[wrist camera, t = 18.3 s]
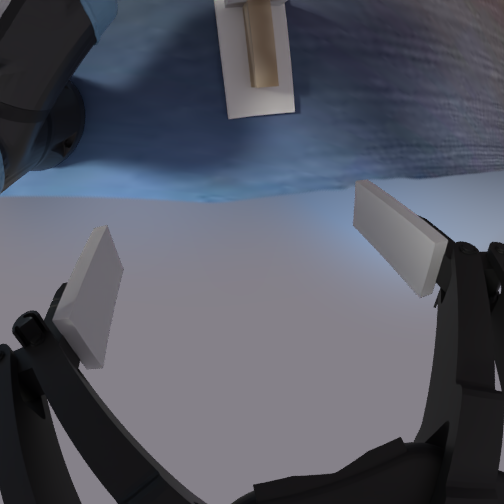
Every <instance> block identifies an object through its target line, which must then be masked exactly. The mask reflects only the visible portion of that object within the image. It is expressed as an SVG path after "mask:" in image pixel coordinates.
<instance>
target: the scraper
mask: <svg viewBox="0 0 504 504" xmlns="http://www.w3.org/2000/svg"><path fill="white" fill-rule="evenodd" d="M286 1H288V0H224V7H225V8H232V7H242V9H243V18H244V26H245V35H246V45H247V54H248V63H249V73H250V83H251V87H253V88H261V87H274V86H279V81H278V70H277V59H276V49H275V39H274V29H273V20H272V11H271V6H281V5H282V4H284V3H285V2H286Z"/></svg>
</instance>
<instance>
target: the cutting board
mask: <svg viewBox="0 0 504 504" xmlns="http://www.w3.org/2000/svg"><path fill="white" fill-rule="evenodd" d="M214 6H215V14H216V23H217V31H218V40H219V48H220V56H221V64H222V73H223V81H224V89H225V97H226V105H227V113H228V119H234V118H242V117H250V116H258V115H268V114H278V113H290V112H295V105H294V92H293V80H292V68H291V57H290V47H289V37H288V28H287V19H286V11H285V3H284V4H282V5H281V6H271V11H272V20H273V29H274V39H275V49H276V59H277V70H278V81H279V86H274V87H261V88H253V87H251V83H250V73H249V63H248V54H247V45H246V35H245V26H244V18H243V9H242V7H232V8H225V7H224V0H214Z"/></svg>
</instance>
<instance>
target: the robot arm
mask: <svg viewBox="0 0 504 504" xmlns="http://www.w3.org/2000/svg"><path fill="white" fill-rule="evenodd" d="M117 10H118V4H117V0H0V194H1V193H2V192H3V191H4V190H6V189H7V188H8V187H9V186H11V185H12V184H13V183H14V182H16V181H17V180H18V179H19V178H21V177H22V176H23V175H25V174H26V173H27V172H29V171H41V170H46V169H49V168H52V167H54V166H56V165H57V164H59V163H60V162H62V161H63V160H64V159H66V158H67V157H68V156H69V155H70V154H71V153H72V152H73V150H74V149H75V148H76V146H77V144H78V143H79V141H80V138H81V136H82V133H83V129H84V124H85V109H84V103H83V100H82V97H81V95H80V93H79V91H78V90H77V88H76V87H75V86H74V85H73V84H72V83H71V82H70V81H69V80H70V78H71V77H72V75H73V74H74V72H75V71H76V69H77V68H78V66H79V65H80V63H81V62H82V60H83V59H84V58H85V56H86V55H87V54H88V52H89V51H90V49H91V48H92V47H93V46H94V45H96V44H98V42H99V41H100V37H101V35H102V34H103V33H104V31H105V30H106V29H107V27H108V26H109V25H110V24H111V22H112V21H113V20H114V18H115V17H116V15H117ZM354 205H355V206H354V219H353V226H354V227H355V228H356V229H357V230H358V231H359V232H360V233H361V234H362V235H363V236H364V237H365V238H366V239H367V240H368V241H369V243H370V244H371V245H372V246H373V247H374V248H375V249H376V250H377V251H378V252H379V253H380V254H381V255H382V256H383V257H384V259H386V261H387V262H388V263H389V264H390V265H391V266H392V267H393V268H394V270H395V271H396V272H397V273H398V274H399V275H400V276H401V277H402V279H403V280H404V281H405V282H406V283H407V284H408V285H409V287H411V289H412V290H413V291H414V292H415V293H416V295H417V296H418V297H419V298H422V297H424V296H427V295H430V294H432V292H433V289H434V286H435V283H437V284H438V285H439V286H440V287H441V288H440V291H439V293H438V296H437V299H436V302H435V305H434V307H435V308H436V306H437V304H438V313H437V328H436V339H435V349H434V358H433V366H432V373H431V380H430V386H429V392H428V397H427V403H426V408H425V412H424V417H423V422H422V425H421V428H420V430H419V432H418V434H417V436H416V438H415V440H414V442H411V443H403V440H402V438H401V437H399V438H397V439H395V440H393V441H391V442H388V443H386V444H384V445H382V446H379V447H377V448H375V449H372V450H370V451H368V452H367V453H365V454H364V455H362V456H361V457H359V458H358V459H356V460H355V461H353V462H352V463H351V464H349V465H347V466H346V467H344V468H343V469H341V470H340V471H338V472H336V473H332V474H322V475H309V476H291V477H287V478H283V479H279V480H274V481H270V482H265V483H260V484H255V485H253V487H254V491H252V492H250V493H248V494H246V495H244V496H242V497H240V498H239V499H237V500H236V501H234V502H233V503H232V504H504V472H502V471H499V470H498V469H499V462H500V455H501V447H502V438H503V425H504V244H502V243H500V242H499V243H498V242H492V243H490V245H489V249H488V251H487V252H479V250H478V249H477V248H476V247H475V246H473V245H471V244H470V243H467V242H461V241H460V242H456V243H455V242H454V241H453V240H452V239H450V238H449V237H448V236H447V235H446V234H444V233H443V232H442V231H441V230H439V229H438V228H437V227H436V226H433V224H432V223H431V222H429V221H428V220H427V219H425V218H422V217H421V216H418V215H416V214H415V213H413V212H412V211H411V210H410V209H408V208H407V207H406V206H404V205H403V204H401V203H400V202H399V201H397V200H396V199H394V198H393V197H392V196H390V195H389V194H388V193H386V192H385V191H383V190H382V189H380V188H379V187H378V186H376V185H375V184H373V183H372V182H370V181H369V180H360V181H356V184H355V204H354ZM123 270H124V269H123V266H122V264H121V261H120V258H119V256H118V253H117V250H116V248H115V245H114V243H113V240H112V237H111V234H110V231H109V229H108V226H107V225H105V226H101V227H97V228H94V230H93V232H92V234H91V235H90V237H89V239H88V241H87V243H86V245H85V247H84V249H83V251H82V253H81V255H80V257H79V259H78V261H77V263H76V266H75V268H74V270H73V272H72V274H71V276H70V279H69V281H68V282H67V283H63V284H62V285H61V287H60V288H59V289H58V290H57V292H56V294H55V296H54V298H53V301H52V302H51V305H50V308H49V309H48V312H47V314H46V317H45V319H44V320H43V319H42V317H41V316H40V314H39V313H38V312H37V311H28V312H26V313H24V314H22V315H21V316H20V317H19V318H18V319H17V320H16V322H15V323H14V325H13V328H12V332H13V334H14V335H15V337H16V338H17V340H18V341H19V342H20V343H21V345H22V346H23V347H22V348H20V349H18V350H15V351H12V350H11V348H10V347H9V346H8V345H7V344H1V345H0V491H1V495H2V499H3V502H4V504H81V502H80V499H79V497H78V494H77V492H76V490H75V487H74V485H73V483H72V480H71V477H70V475H69V472H68V469H67V467H66V464H65V461H64V458H63V455H62V452H61V449H60V446H59V443H58V439H57V436H56V432H55V429H54V425H53V421H52V418H51V414H50V410H49V406H48V401H49V403H50V405H51V407H52V409H53V410H54V412H55V414H56V416H57V418H58V419H59V421H60V423H61V424H62V426H63V428H64V430H65V431H66V432H67V434H68V436H69V438H70V439H71V441H72V442H73V444H74V445H75V447H76V448H77V450H78V451H79V453H80V454H81V456H82V457H83V459H84V460H85V462H86V463H87V464H88V466H89V467H90V469H91V470H92V471H93V473H94V474H95V475H96V477H97V478H98V479H99V481H100V482H101V483H102V484H103V485H104V487H105V488H106V489H107V491H108V492H109V493H110V494H111V495H112V497H113V498H114V499H115V500H116V502H117V503H118V504H207V503H205V502H204V501H202V500H201V499H200V498H198V497H197V496H196V495H194V494H193V493H192V492H190V491H189V490H188V489H187V488H186V487H184V486H183V485H182V484H181V483H180V482H179V481H178V480H176V479H175V478H174V477H173V476H172V475H171V474H170V473H169V472H168V471H167V470H165V469H164V468H163V467H162V466H161V465H160V464H159V463H158V462H157V461H156V460H155V459H154V458H153V457H152V456H151V455H150V454H149V453H148V452H147V451H146V450H145V449H144V448H143V447H142V446H141V445H140V444H139V443H138V442H137V440H135V438H133V436H132V435H131V434H130V433H129V432H128V431H127V430H126V428H125V427H124V426H123V425H122V424H121V423H120V421H119V420H118V419H117V418H116V417H115V416H114V414H113V413H112V412H111V411H110V410H109V408H108V407H107V406H106V405H105V403H104V402H103V401H102V399H101V398H100V397H99V396H98V394H97V393H96V392H95V390H94V389H93V388H92V386H91V385H90V384H89V382H88V381H87V380H86V378H85V377H84V375H83V374H82V373H81V372H80V370H79V369H78V367H79V363H80V361H81V362H82V364H83V365H84V366H85V368H86V369H98V368H103V366H104V359H105V353H106V347H107V342H108V336H109V331H110V326H111V321H112V316H113V312H114V307H115V303H116V299H117V294H118V290H119V286H120V282H121V278H122V274H123ZM500 285H501V294H499V292H498V290H499V288H500ZM494 360H495V364H496V367H497V372H498V375H499V380H500V385H501V389H502V391H496V390H495V364H494ZM47 399H48V401H47Z"/></svg>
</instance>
